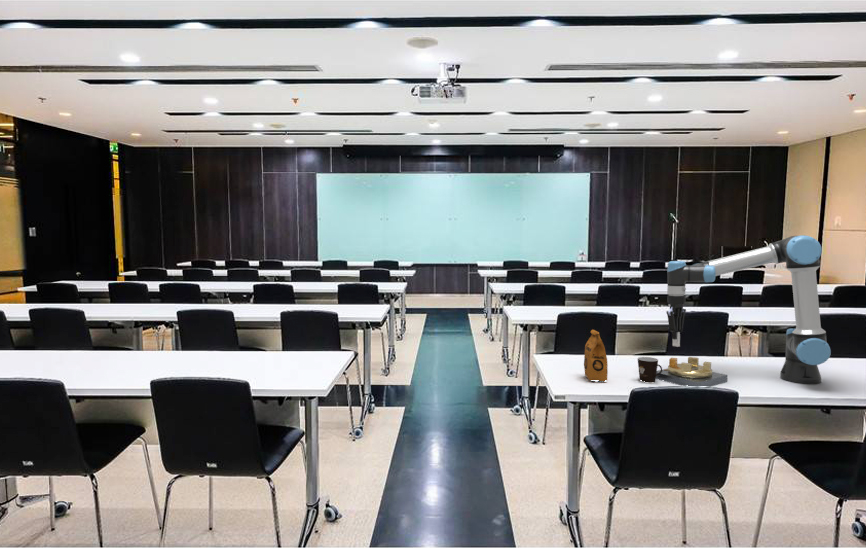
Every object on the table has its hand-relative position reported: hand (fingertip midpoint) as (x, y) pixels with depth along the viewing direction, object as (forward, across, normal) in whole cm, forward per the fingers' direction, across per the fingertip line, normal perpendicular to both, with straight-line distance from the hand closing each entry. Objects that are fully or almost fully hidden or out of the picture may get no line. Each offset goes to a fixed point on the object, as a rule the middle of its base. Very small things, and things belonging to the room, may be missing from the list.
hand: (676, 346), depth 246 cm
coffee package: (+14, -32, +20) cm, 41 cm away
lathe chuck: (+11, 0, -6) cm, 13 cm away
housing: (+15, 0, -6) cm, 16 cm away
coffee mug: (+14, -18, +3) cm, 23 cm away
